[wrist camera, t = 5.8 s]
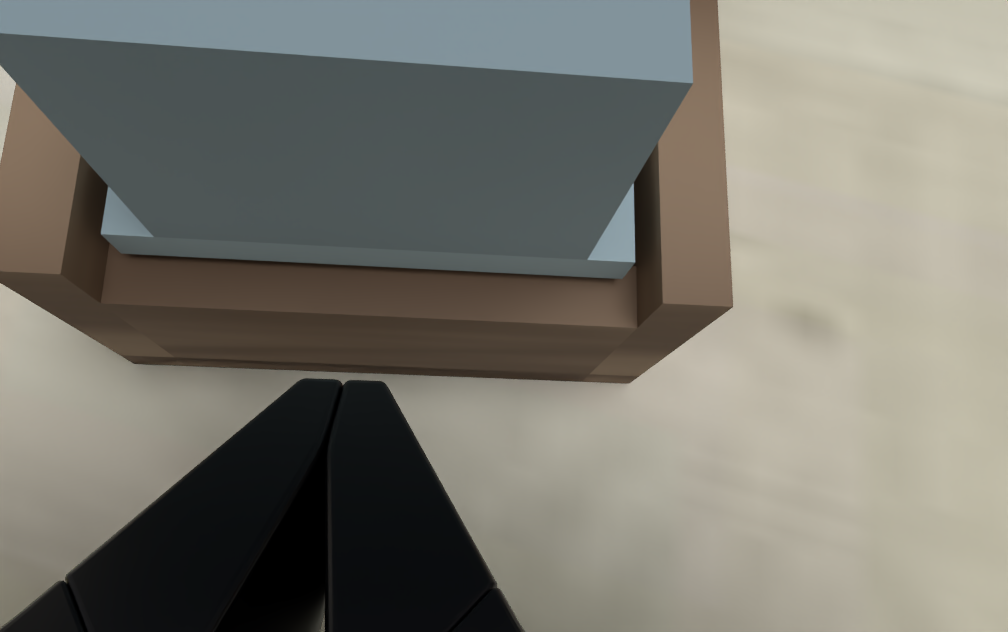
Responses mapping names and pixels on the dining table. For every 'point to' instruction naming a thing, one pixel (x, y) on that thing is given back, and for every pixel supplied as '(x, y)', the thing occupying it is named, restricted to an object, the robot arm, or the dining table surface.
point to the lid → (362, 124)
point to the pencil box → (382, 274)
